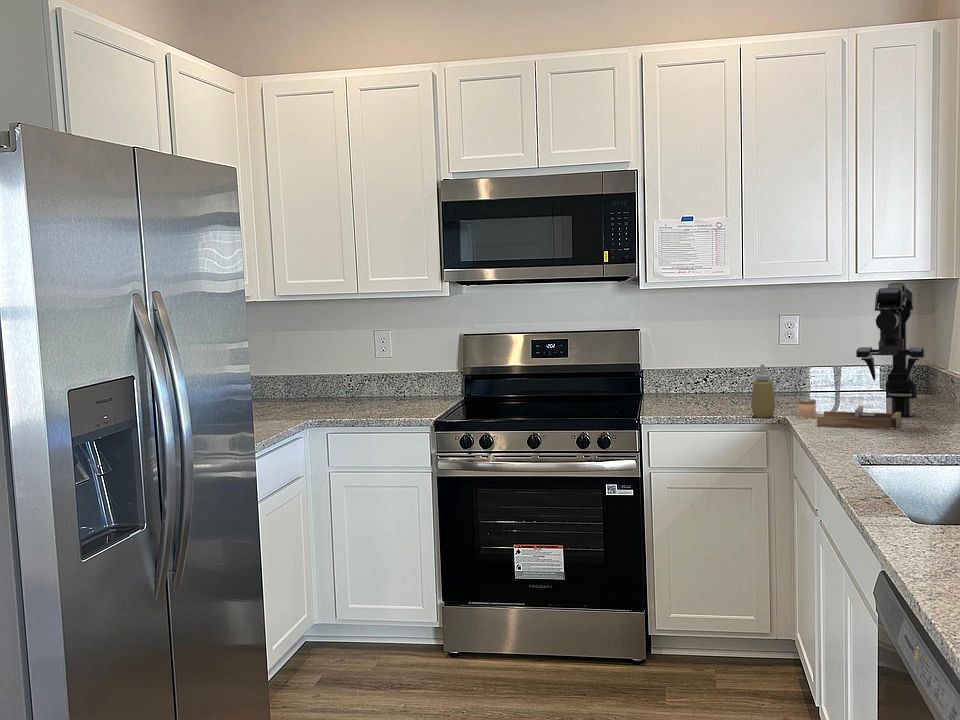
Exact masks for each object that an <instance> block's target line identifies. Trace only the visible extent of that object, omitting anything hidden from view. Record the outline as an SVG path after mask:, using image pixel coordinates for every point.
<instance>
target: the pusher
mask: <svg viewBox="0 0 960 720" xmlns="http://www.w3.org/2000/svg"><path fill="white" fill-rule="evenodd" d="M854 412H855V418H875V414H863V412H864V406H863V405H859V406H858V407H856V409H854Z"/></svg>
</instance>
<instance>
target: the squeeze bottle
mask: <svg viewBox="0 0 960 720" xmlns="http://www.w3.org/2000/svg"><path fill="white" fill-rule="evenodd" d="M770 380H771V375H770V374H767V371H766V367H765V364H760V368H759V372H758V374H757V375H755V381H754V382H753V383H752V391H751V405H750V407H751V410H752V413H753V416H754V417H755V418H756V419H757V418H759V419H769V418H772V417H773V416H774V414H775V413H774V412H775V409H776V400H775V391H774V384H773V382H772V381H770Z"/></svg>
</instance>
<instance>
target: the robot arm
mask: <svg viewBox="0 0 960 720" xmlns="http://www.w3.org/2000/svg"><path fill="white" fill-rule="evenodd" d="M906 286H907V285H906V283H905V282H890V283H888V284H887V287H881V288H880V287H879V289H878V291H876V292H875V300H874V301H875V302H874V312H879V314H878V315H877V316H876V318H875V324H876V327H877V328H878V329H879V341H878V349H873V346H868V347H867V346H865V347H864V346H863V347H862V346H860V347H858V348H857V349H856V352H855V353H856V358H860V360H861V361H864V362H865V363H866V365H867V367H868V369H869V372H870V375H871V377H872V380H873V381H874V382H875V381H876V369H875V368H876V367H875V359H874V356H892V369H891V370H890V372H889V374H888V375H887V379H886V380H885V395H886V399H891V403H890V404H891V406H890V407H891V411H890V412H891V413H895V412H901V418H912V416H913V413H912V412H911V399H917V397H918V389H917V387H918V386H917V384H916V382H915V380H914V379H913V373H912V370H913V368H914V365H915V363H916V362H917V361H920V360H921V358H924V357H926V349H925V347H923V346H910V347H909V348H908V349H907V347H908V345H907V343H908V342H907V340H908V339H907V322H908V321H909V319H910V318H911V316H912V313H913V312H912V311H914V305H915V304H914V294H913V292H912V291H911V290H909V289H908V288H907V287H906ZM908 356H909V357H908ZM907 358H908V359H907Z"/></svg>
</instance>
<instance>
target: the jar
mask: <svg viewBox="0 0 960 720" xmlns="http://www.w3.org/2000/svg"><path fill="white" fill-rule="evenodd" d="M797 409H798V410H797V411H798V413H797V416H798V417H803V418H814V417H815V418H817V399H813V398H812V399H811V398H808V399H807V398H804V399H803V398H802V399H800V398H799V399H798V400H797ZM815 418H814V419H815Z"/></svg>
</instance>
